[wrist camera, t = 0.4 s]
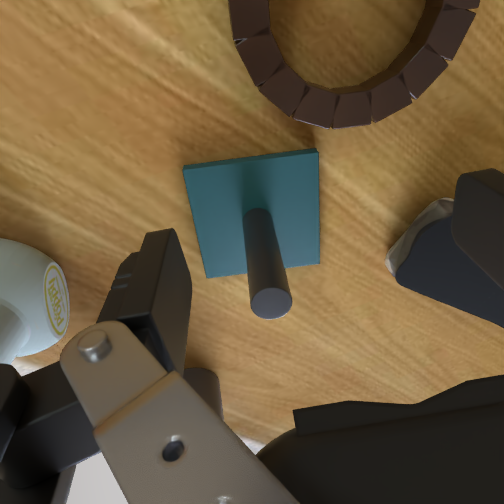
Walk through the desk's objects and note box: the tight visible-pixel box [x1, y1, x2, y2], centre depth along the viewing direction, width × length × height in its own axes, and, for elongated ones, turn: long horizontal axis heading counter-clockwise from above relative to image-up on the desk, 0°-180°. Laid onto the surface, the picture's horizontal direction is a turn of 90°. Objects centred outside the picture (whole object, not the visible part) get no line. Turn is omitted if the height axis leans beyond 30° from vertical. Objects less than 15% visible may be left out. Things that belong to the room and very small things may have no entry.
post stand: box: [182, 148, 320, 319], centre depth 26 cm, size 10×10×11 cm
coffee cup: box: [183, 368, 224, 421], centre depth 37 cm, size 8×8×10 cm
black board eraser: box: [385, 198, 504, 328], centre depth 32 cm, size 16×8×4 cm, turn 64°
